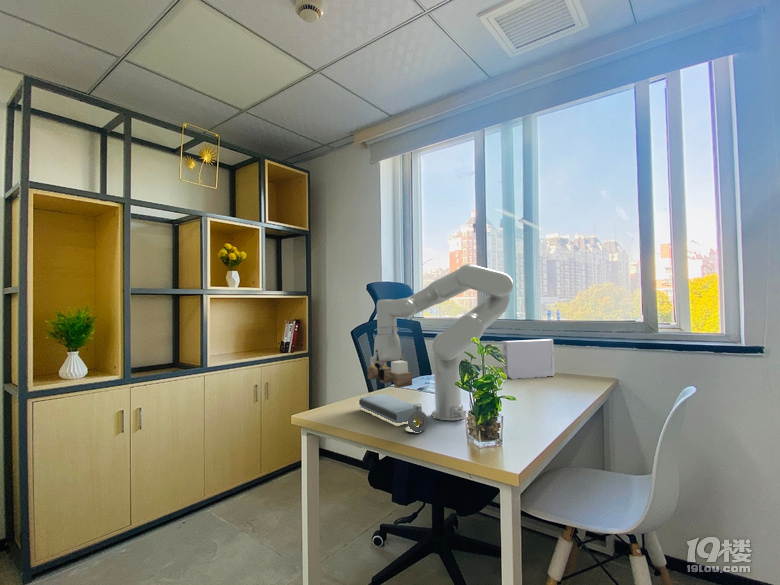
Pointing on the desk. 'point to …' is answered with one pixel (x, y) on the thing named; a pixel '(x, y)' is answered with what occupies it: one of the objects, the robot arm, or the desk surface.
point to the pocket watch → (417, 420)
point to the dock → (389, 407)
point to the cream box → (399, 367)
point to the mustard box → (377, 362)
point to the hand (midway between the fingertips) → (388, 377)
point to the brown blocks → (391, 377)
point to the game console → (528, 358)
